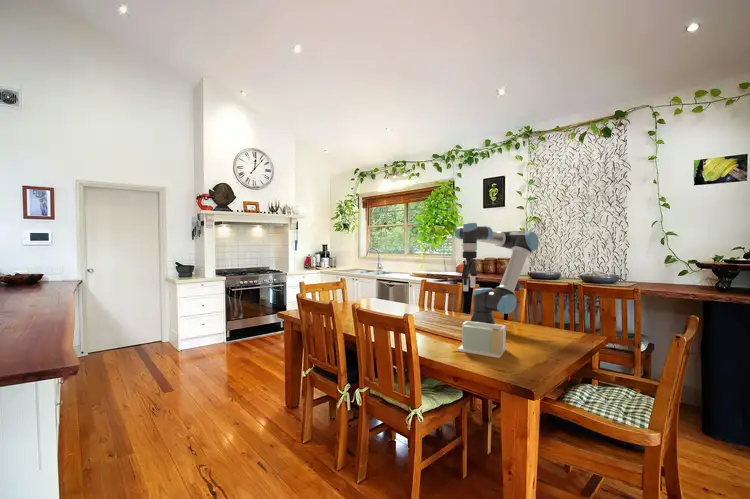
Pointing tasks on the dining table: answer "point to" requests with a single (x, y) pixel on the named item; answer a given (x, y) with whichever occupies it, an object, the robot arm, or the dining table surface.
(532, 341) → the dining table surface
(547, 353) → the dining table surface
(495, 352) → the door
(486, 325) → the box
